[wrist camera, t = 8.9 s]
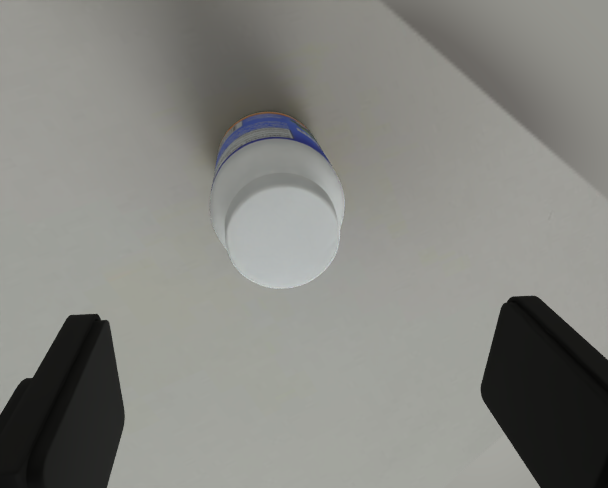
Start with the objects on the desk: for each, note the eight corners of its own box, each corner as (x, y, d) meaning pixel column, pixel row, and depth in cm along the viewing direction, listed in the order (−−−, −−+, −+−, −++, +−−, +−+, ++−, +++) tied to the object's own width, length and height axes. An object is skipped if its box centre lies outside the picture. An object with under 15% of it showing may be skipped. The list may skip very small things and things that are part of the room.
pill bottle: (329, 190, 26) (378, 280, 17) (237, 221, 26) (239, 326, 17) (301, 93, 23) (342, 140, 14) (199, 128, 23) (178, 195, 14)
